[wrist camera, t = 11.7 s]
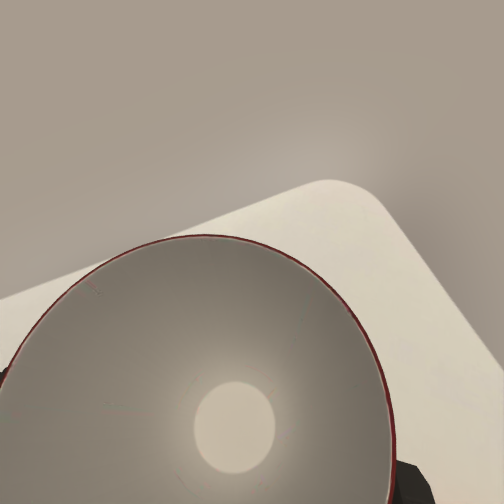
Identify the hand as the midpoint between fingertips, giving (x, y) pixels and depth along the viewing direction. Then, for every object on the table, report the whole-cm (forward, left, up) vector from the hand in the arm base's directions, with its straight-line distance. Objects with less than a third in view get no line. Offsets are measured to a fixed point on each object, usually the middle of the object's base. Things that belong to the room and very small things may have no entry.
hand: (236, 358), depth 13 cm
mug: (+2, -3, -4) cm, 5 cm away
